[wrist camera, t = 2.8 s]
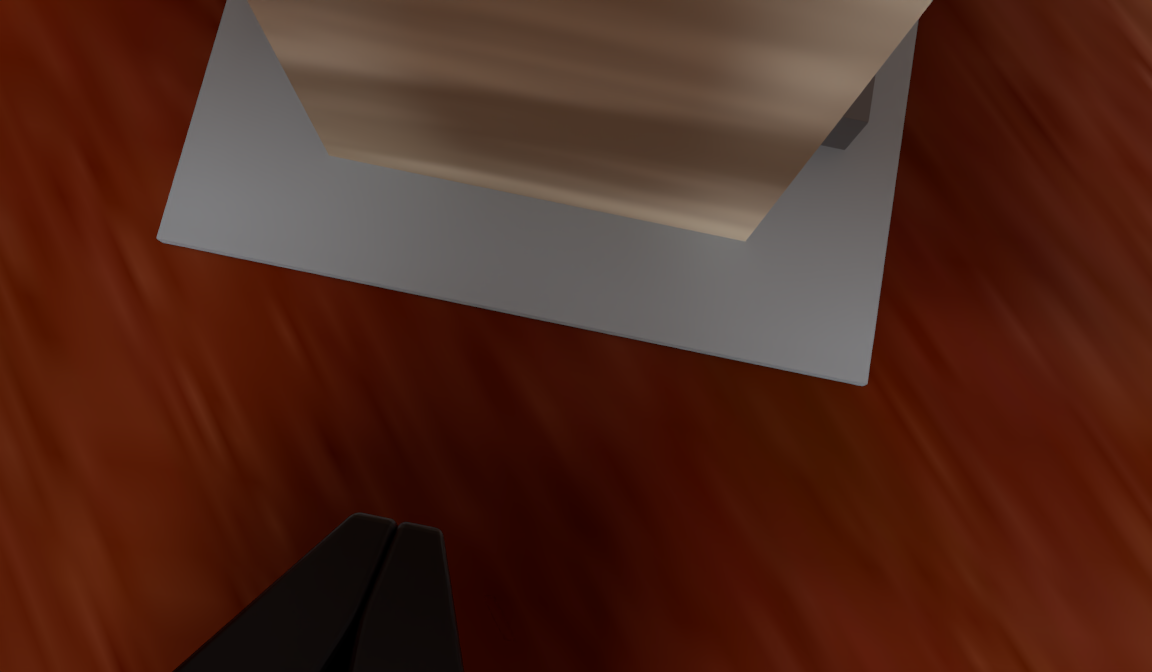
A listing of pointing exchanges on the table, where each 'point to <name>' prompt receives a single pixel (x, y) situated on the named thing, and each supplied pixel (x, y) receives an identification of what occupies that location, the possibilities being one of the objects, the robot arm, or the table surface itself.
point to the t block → (589, 93)
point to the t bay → (548, 227)
